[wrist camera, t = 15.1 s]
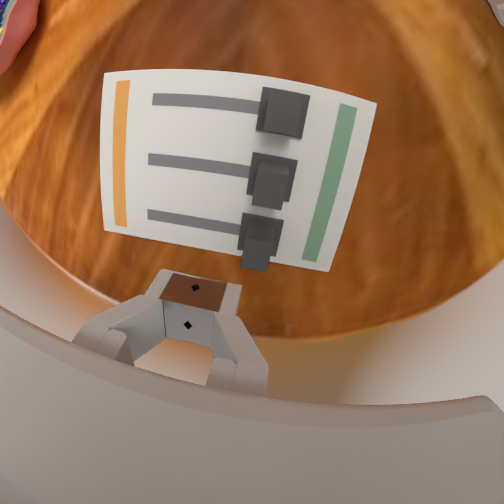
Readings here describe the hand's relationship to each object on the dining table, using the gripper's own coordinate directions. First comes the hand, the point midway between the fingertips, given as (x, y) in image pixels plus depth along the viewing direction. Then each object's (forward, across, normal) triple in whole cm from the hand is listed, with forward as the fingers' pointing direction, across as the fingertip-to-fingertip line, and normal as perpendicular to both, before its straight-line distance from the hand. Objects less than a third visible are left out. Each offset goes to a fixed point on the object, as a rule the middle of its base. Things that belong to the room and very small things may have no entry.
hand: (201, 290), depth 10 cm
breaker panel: (+20, +3, 0) cm, 20 cm away
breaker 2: (+17, -2, +6) cm, 18 cm away
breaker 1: (+17, -2, -6) cm, 18 cm away
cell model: (+20, +37, -20) cm, 47 cm away
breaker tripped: (+17, -2, 0) cm, 17 cm away
